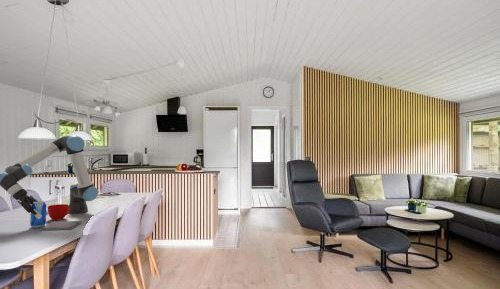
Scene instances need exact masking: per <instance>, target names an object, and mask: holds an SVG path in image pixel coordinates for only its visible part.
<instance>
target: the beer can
mask: <svg viewBox="0 0 500 289" xmlns="http://www.w3.org/2000/svg"><path fill="white" fill-rule="evenodd" d="M31 206H32V207H33V209H35V210H36V211H38V212H39V213H40V214H41V215H42V217H41V218H40V219H38V218H37V217H35V216H34V215H33V214H32V213H31V212H30V222H29V223H30V224H29V226H30V227H31V228H42V227H44V226H46V225H47V215H46V211H47V204H46V202H45V200H43V201H41V200H40V201H38V202H33V204H32V205H31Z"/></svg>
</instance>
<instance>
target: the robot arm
mask: <svg viewBox="0 0 500 289" xmlns="http://www.w3.org/2000/svg"><path fill="white" fill-rule="evenodd" d="M85 143H86V142H85V141H84V139H83V138H82V137H81V136H78V135H64V136H61V137H59V138H58V139H56V140H54V141H51V143H49V145H47V146H46V147H44V148H43V149H40V150H39V151H37V152H35V153H33V154H32V155H29V156H28V157H25V158H24V159H23V160H20V161H19V162H17V163H14V164H13V165H9V166H7V167H5V169H4V172H1V173H0V187H1V188H2V189H3V190H5V191H6V192H7V193H8V195H10V196H11V197H12V198H13V199H14V200H15V201H16V202H17V203H18V204H19V205H20V206H22V208H23V209H24V210H25V211H26V212H27V213H29V214H31V213H32V214H33V215H34V216H35V217H37V218H38V219H40V218H41V217H42V215H41V214H40V213H39V212H38V211H36V210H35V209H33V207H32V206H31V205H32V204H33V202H39V201H38V200H37V199H36V198H34V197H33V195H27V194H28V191H27V190H26V189H25V188H24V187H23V186H21V185H20V184H19V183H18V182H19V181H22V180H23V179H25V178H26V177H28V176H30V175H31V174H32V173H33V172H34V171H33V169H32V168H33V167H35V166H36V165H39V164H41V163H42V162H43V161H46V160H47V159H49V158H50V157H52V156H54V155H56V154H60V153H62V152H66V155H67V156H69V157H70V160H71V163H72V168H73V170H74V175H75V178H76V182H77V184H71V185H70V188H69V204H68V205H69V206H68V208H70V209H71V211H70V213H69V214H82V213H87V212H89V208H88V205H87V202H92V201H95V199H97V197H98V195H99V189H98V188H97V187H95V186H94V182H93V181H91V179H90V175H89V172H88V168H87V165H86V162H85V161H86V160H85V159H84V154H83V152H84V151H85V150H84V147H85ZM68 212H69V209H68ZM68 212H67V213H68ZM48 215H49V213H48V210H46V216H48Z"/></svg>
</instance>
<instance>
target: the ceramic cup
mask: <svg viewBox="0 0 500 289" xmlns="http://www.w3.org/2000/svg"><path fill="white" fill-rule="evenodd" d="M68 206H69V204H65V203H64V204H63V203H60V204H59V203H58V204H51V205H48V206H47V212H48V213H49V214H48V216H49V218H51V220H52V221H61V220H62V221H63V219H65V217H67V216H68V215H69V214H71V213H70V211H71V209H70V208H68ZM68 209H69V212H68ZM67 212H68V213H67Z"/></svg>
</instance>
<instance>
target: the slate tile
mask: <svg viewBox="0 0 500 289" xmlns="http://www.w3.org/2000/svg"><path fill="white" fill-rule="evenodd" d="M82 222H83V221H82V220H66V221H63V220H62V221H61V220H53V221H51V222H50V223H48V224H45V225H44V226H43V227H39V228H40V231H71V230H73V229H74V228H76V227H78V226H80V225H81V224H82Z"/></svg>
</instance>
